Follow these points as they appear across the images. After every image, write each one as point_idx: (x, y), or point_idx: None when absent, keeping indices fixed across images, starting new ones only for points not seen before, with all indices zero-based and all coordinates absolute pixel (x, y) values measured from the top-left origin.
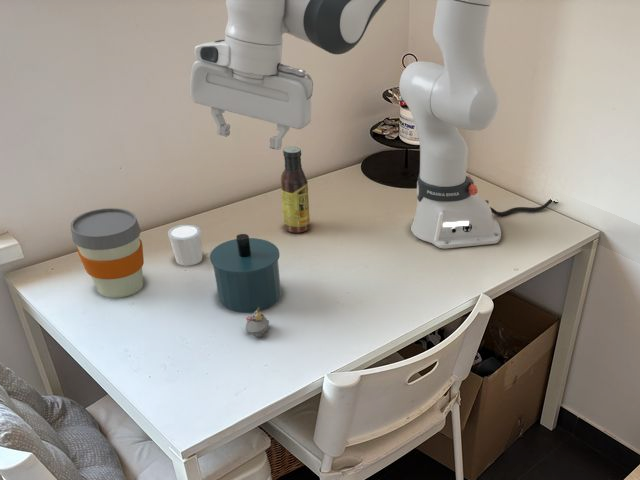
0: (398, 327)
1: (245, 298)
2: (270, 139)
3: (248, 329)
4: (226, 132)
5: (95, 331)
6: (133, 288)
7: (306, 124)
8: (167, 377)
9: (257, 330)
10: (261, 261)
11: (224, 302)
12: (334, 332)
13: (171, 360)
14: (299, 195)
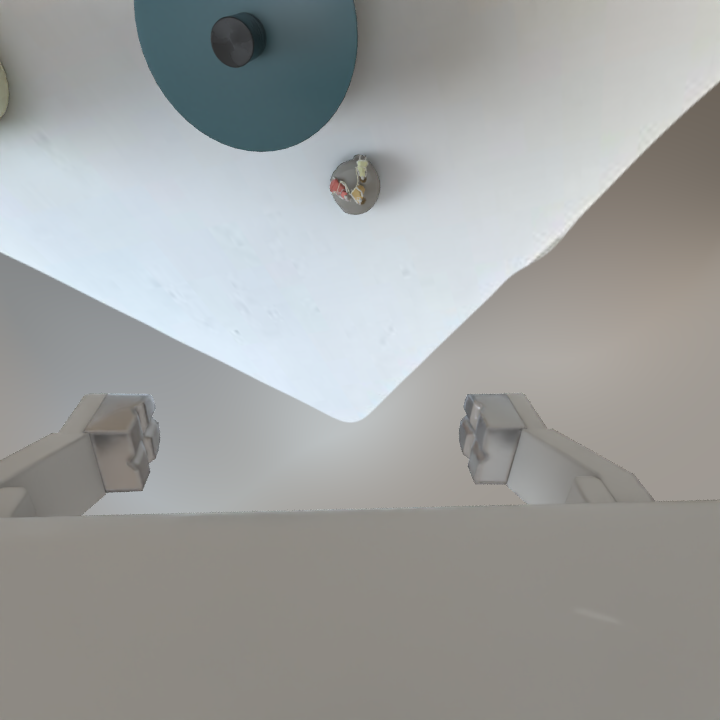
0: (682, 79)
1: None
2: (476, 479)
3: (344, 210)
4: (151, 446)
5: (63, 247)
6: (1, 99)
7: None
8: (262, 328)
9: (364, 211)
10: (316, 70)
11: None
12: (521, 140)
13: (243, 292)
14: None
